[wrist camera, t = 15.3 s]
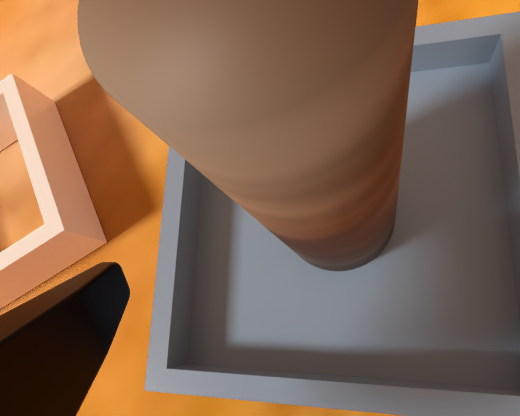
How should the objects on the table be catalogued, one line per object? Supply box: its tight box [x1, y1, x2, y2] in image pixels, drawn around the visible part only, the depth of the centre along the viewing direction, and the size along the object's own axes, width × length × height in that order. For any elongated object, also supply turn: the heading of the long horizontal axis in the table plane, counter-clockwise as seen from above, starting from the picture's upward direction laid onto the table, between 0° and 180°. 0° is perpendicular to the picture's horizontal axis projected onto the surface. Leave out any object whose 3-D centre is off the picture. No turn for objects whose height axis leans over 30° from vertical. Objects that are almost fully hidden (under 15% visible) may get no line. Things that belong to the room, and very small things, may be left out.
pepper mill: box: [78, 0, 418, 271], centre depth 11 cm, size 4×4×12 cm
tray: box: [145, 12, 520, 416], centre depth 16 cm, size 14×14×3 cm
